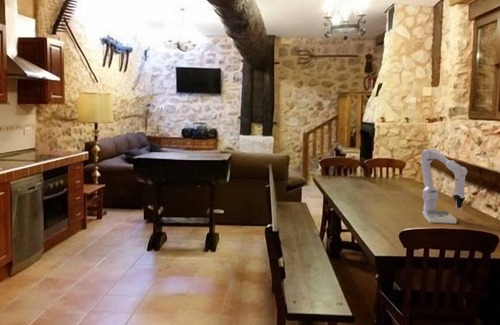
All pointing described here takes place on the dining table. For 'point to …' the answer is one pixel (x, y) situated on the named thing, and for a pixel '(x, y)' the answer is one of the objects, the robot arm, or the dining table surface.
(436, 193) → the robot arm
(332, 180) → the dining table surface
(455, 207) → the peg
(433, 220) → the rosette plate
